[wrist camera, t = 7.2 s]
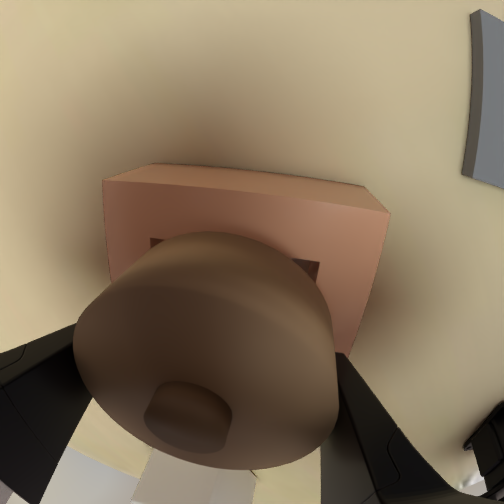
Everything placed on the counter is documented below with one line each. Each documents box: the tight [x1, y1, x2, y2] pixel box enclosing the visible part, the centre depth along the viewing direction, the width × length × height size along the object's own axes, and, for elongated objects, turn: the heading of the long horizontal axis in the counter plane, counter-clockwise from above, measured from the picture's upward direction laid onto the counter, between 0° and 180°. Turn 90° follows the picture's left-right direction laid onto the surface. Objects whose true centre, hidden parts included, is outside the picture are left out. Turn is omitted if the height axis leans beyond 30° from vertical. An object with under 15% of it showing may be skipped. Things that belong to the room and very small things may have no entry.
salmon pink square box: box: [102, 163, 391, 358], centre depth 12 cm, size 9×9×4 cm
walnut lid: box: [73, 231, 339, 470], centre depth 8 cm, size 7×7×4 cm
